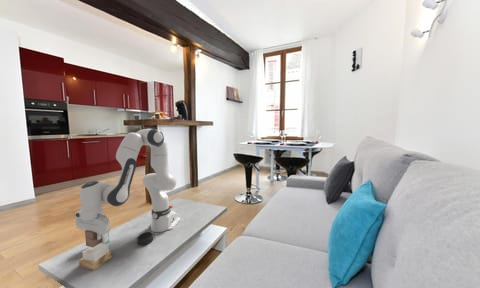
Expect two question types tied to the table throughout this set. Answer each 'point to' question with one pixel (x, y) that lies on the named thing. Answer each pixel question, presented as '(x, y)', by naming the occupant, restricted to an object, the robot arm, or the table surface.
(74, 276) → the table surface
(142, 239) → the smart speaker
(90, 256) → the off-white top block
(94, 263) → the oak base block
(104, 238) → the syrup box
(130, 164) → the robot arm
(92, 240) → the walnut block
